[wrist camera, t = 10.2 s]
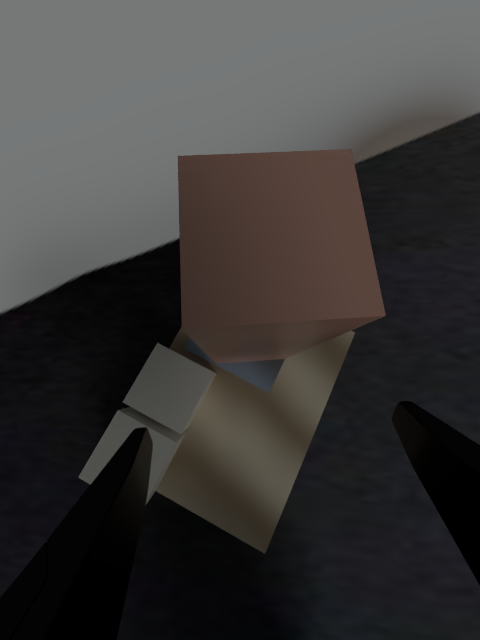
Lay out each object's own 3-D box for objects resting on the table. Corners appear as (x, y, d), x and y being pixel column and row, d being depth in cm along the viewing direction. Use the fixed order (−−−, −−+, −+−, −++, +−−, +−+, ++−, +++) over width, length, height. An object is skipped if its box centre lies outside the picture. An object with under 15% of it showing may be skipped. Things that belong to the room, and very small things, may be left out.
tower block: (284, 358, 19) (385, 315, 6) (216, 363, 19) (181, 329, 6) (277, 294, 20) (351, 149, 8) (213, 298, 20) (177, 155, 7)
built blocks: (155, 490, 17) (139, 513, 14) (104, 461, 17) (78, 477, 14) (216, 373, 19) (213, 372, 16) (168, 348, 19) (157, 342, 16)
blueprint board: (262, 542, 18) (265, 556, 16) (112, 456, 19) (102, 462, 17) (348, 335, 21) (356, 332, 20) (217, 271, 22) (216, 264, 21)
